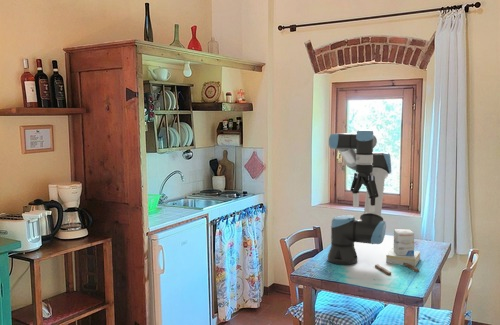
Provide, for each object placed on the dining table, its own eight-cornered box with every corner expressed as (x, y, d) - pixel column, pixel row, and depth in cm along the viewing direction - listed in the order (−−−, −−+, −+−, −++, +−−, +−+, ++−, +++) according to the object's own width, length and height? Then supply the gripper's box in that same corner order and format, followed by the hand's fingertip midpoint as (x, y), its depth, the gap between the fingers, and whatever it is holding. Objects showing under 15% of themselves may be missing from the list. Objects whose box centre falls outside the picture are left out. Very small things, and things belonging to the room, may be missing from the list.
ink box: (409, 250, 241) (410, 228, 240) (414, 255, 233) (414, 232, 231) (393, 250, 242) (393, 228, 240) (396, 255, 233) (397, 232, 232)
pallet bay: (375, 267, 228) (375, 264, 228) (404, 264, 232) (404, 261, 232) (388, 275, 216) (388, 272, 216) (418, 271, 221) (419, 269, 220)
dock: (386, 262, 235) (386, 254, 234) (392, 255, 247) (392, 247, 246) (415, 266, 228) (415, 258, 227) (420, 259, 240) (420, 251, 239)
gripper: (343, 161, 221) (343, 205, 223) (372, 166, 197) (371, 215, 199) (357, 161, 223) (356, 204, 225) (387, 166, 200) (386, 214, 202)
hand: (363, 209), depth 212 cm, fingers open, 13 cm apart
